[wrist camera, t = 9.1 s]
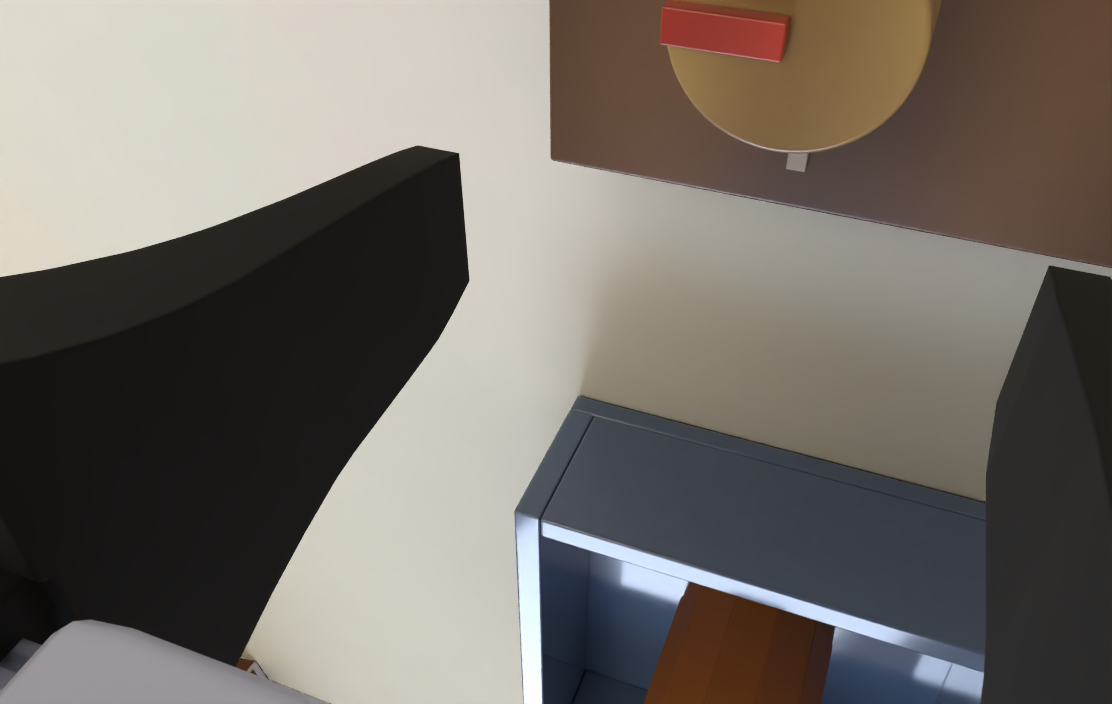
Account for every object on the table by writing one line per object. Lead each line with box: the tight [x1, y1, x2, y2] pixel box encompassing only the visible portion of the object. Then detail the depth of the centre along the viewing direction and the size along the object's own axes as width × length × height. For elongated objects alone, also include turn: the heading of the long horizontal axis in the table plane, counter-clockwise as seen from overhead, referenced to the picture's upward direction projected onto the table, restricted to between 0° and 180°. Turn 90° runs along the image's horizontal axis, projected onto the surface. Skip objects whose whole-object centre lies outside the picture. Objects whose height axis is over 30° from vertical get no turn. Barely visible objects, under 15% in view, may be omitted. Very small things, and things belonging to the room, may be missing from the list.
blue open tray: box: [514, 396, 986, 704], centre depth 29 cm, size 12×13×5 cm
